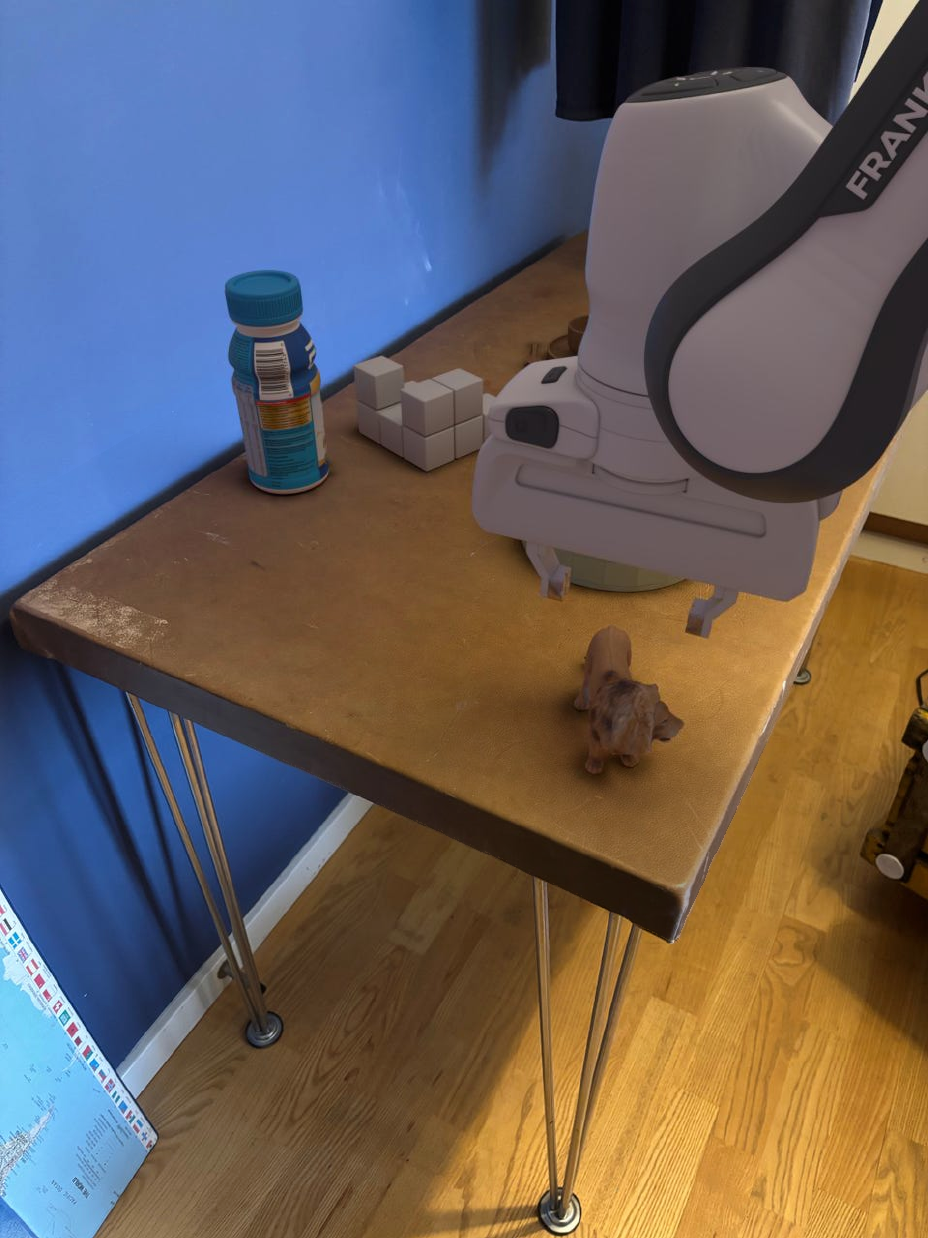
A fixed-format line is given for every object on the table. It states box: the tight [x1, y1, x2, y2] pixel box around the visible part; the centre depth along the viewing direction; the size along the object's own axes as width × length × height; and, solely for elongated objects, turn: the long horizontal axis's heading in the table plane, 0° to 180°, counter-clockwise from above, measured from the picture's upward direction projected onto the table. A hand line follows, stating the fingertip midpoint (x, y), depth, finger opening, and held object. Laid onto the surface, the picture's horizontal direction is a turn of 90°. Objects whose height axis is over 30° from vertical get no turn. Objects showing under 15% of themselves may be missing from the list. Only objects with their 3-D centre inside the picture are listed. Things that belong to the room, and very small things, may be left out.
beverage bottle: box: [224, 269, 330, 495], centre depth 88 cm, size 8×8×20 cm
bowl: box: [520, 540, 686, 593], centre depth 83 cm, size 18×18×6 cm
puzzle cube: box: [353, 355, 497, 472], centre depth 99 cm, size 12×12×8 cm
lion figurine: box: [573, 624, 685, 775], centre depth 63 cm, size 15×5×9 cm, turn 8°
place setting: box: [525, 314, 589, 365], centre depth 111 cm, size 18×20×6 cm
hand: (624, 612), depth 58 cm, fingers open, 8 cm apart
